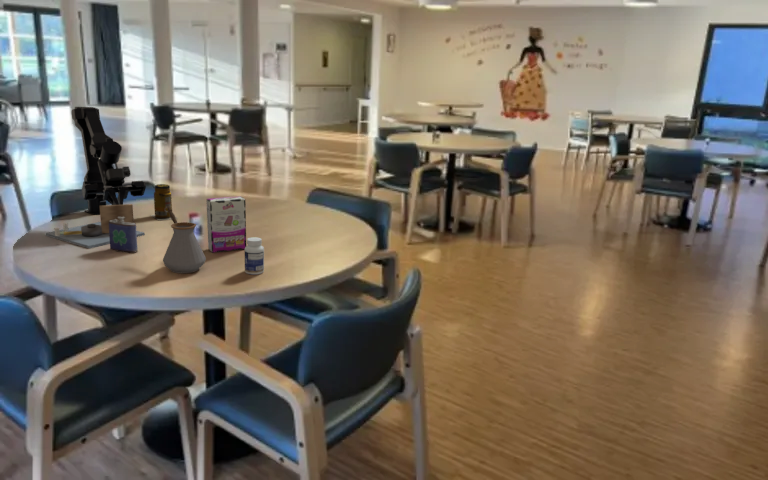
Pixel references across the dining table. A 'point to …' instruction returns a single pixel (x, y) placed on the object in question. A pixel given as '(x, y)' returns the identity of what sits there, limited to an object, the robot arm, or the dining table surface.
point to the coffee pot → (183, 248)
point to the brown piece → (106, 219)
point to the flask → (123, 236)
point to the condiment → (162, 202)
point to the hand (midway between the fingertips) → (120, 211)
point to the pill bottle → (254, 256)
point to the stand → (83, 240)
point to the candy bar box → (226, 223)
